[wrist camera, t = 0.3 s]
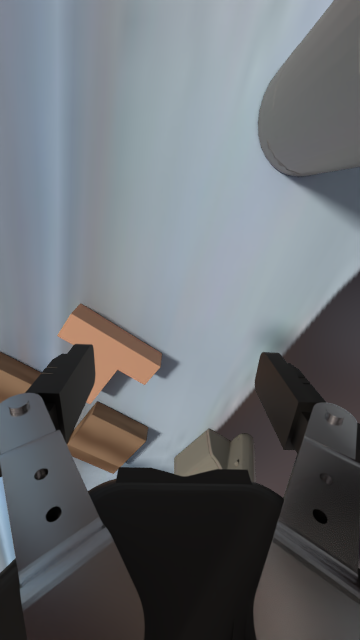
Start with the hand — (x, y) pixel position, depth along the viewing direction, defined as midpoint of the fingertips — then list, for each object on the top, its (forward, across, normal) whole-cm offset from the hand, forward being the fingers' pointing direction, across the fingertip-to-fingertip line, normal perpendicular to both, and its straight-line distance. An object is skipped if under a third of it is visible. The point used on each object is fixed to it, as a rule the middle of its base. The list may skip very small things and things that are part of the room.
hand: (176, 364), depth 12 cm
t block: (+19, +9, +11) cm, 24 cm away
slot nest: (+20, +16, +22) cm, 33 cm away
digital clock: (+20, -8, +30) cm, 37 cm away
